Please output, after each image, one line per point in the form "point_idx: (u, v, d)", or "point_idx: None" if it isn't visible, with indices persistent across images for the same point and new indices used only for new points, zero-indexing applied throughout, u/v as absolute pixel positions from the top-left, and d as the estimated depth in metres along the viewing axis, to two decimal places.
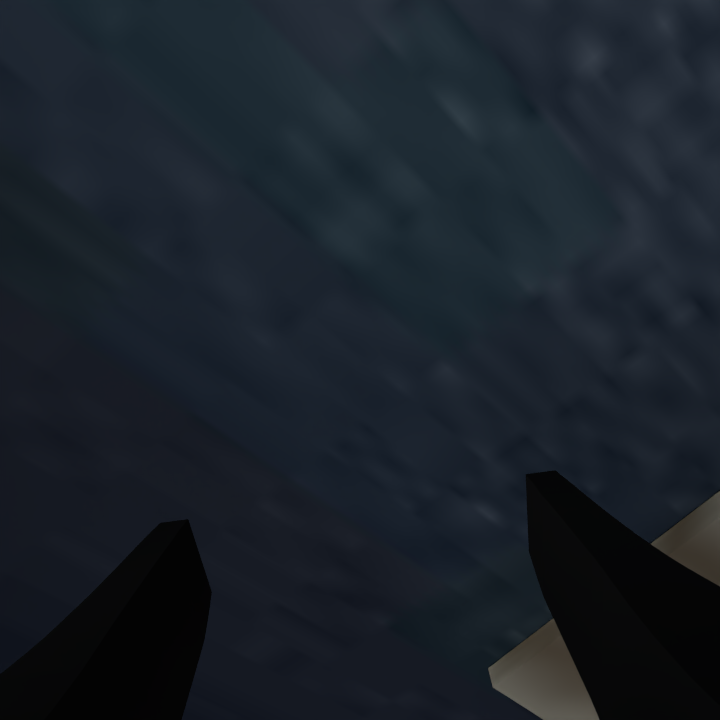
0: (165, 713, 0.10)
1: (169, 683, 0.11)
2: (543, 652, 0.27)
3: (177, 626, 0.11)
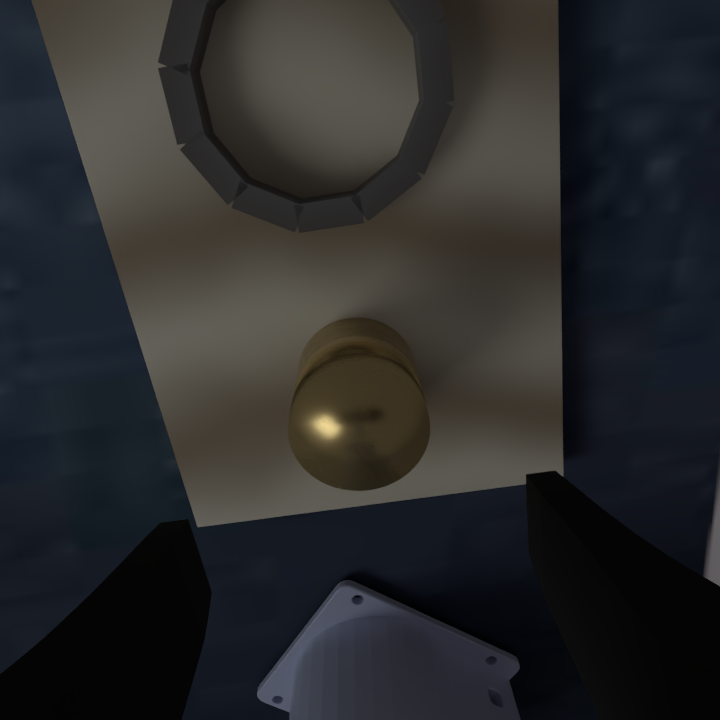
0: (165, 713, 0.10)
1: (169, 683, 0.11)
2: (180, 460, 0.21)
3: (177, 626, 0.11)
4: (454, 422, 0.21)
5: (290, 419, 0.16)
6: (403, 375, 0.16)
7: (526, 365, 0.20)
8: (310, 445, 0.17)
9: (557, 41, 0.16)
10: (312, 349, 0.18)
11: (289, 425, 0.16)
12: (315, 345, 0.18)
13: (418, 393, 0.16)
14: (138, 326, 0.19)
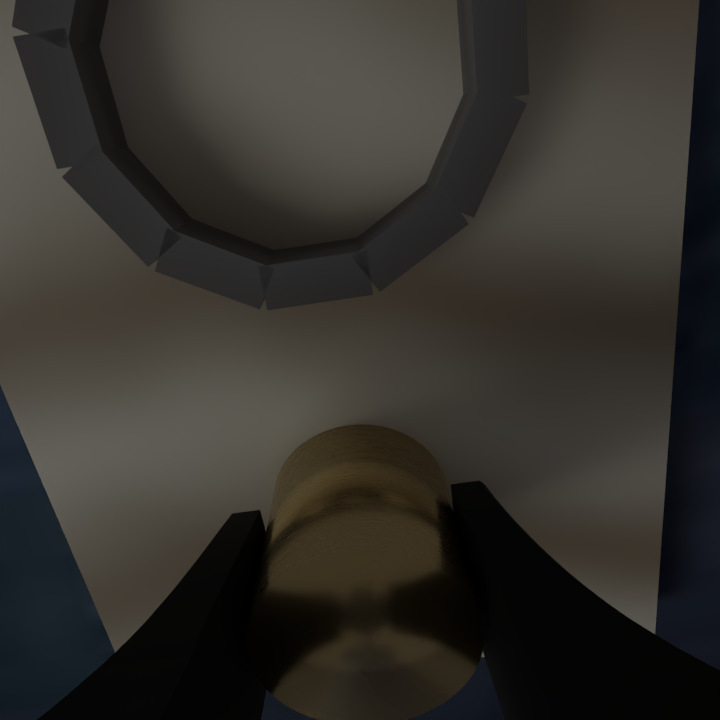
0: (251, 703, 0.10)
1: (252, 673, 0.10)
2: (105, 616, 0.15)
3: None
4: None
5: (250, 629, 0.10)
6: (441, 557, 0.10)
7: (613, 489, 0.14)
8: (285, 666, 0.10)
9: None
10: (291, 483, 0.12)
11: (249, 637, 0.10)
12: (295, 477, 0.12)
13: (466, 589, 0.10)
14: (29, 438, 0.13)
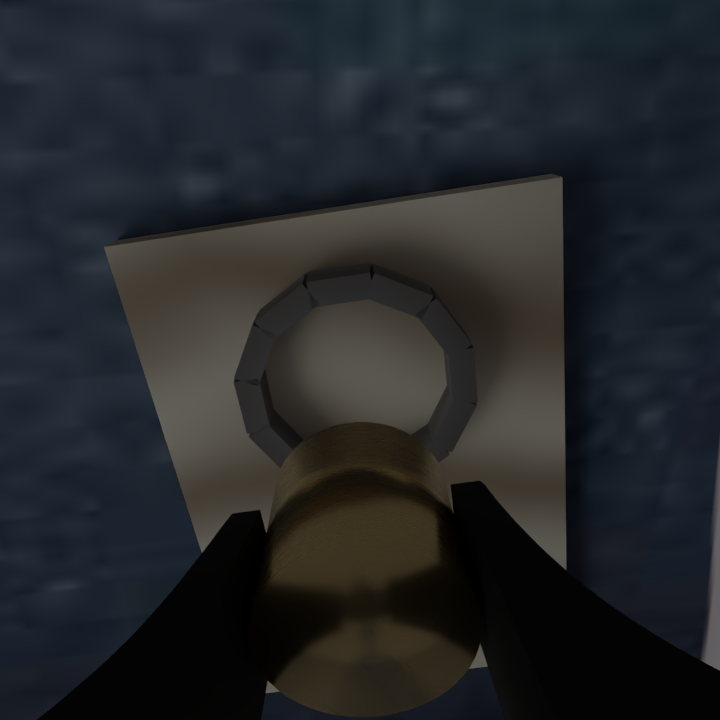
0: (251, 703, 0.10)
1: (252, 673, 0.10)
2: None
3: None
4: None
5: (252, 622, 0.10)
6: (439, 551, 0.10)
7: None
8: (286, 658, 0.10)
9: (563, 343, 0.20)
10: (292, 480, 0.12)
11: (251, 630, 0.10)
12: (297, 473, 0.12)
13: (463, 582, 0.10)
14: (203, 547, 0.23)
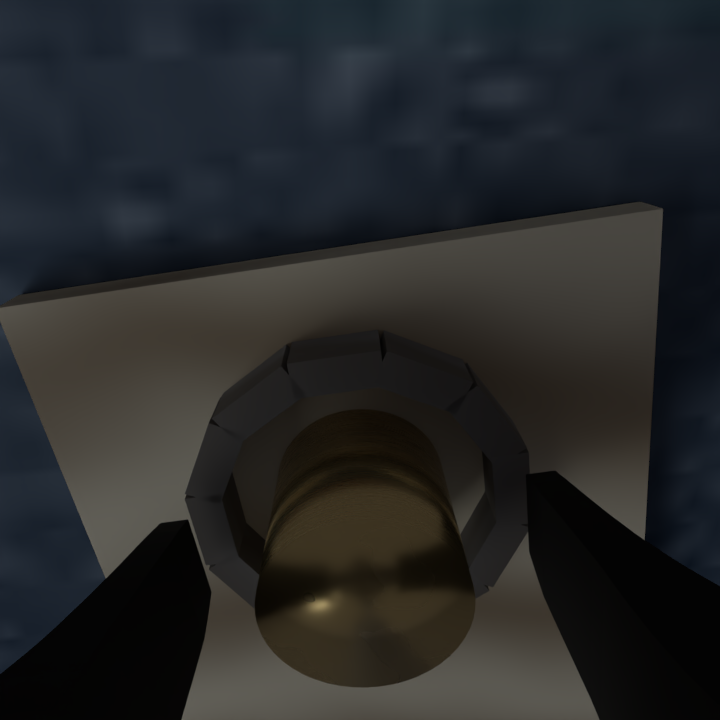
0: (165, 713, 0.10)
1: (169, 683, 0.11)
2: None
3: (177, 626, 0.11)
4: None
5: (258, 594, 0.10)
6: (434, 527, 0.10)
7: (595, 717, 0.18)
8: (290, 630, 0.11)
9: (649, 437, 0.14)
10: (295, 463, 0.13)
11: (257, 602, 0.11)
12: (299, 457, 0.13)
13: (458, 556, 0.10)
14: None
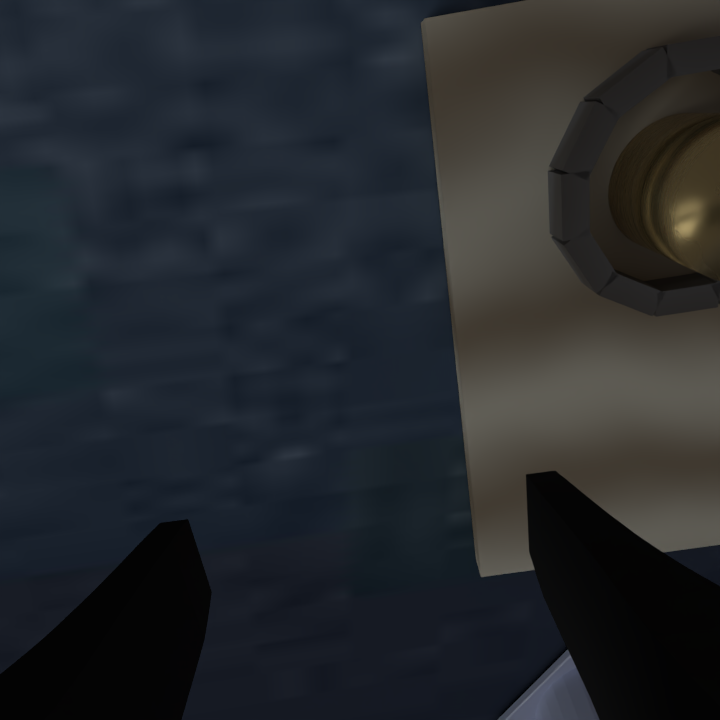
0: (165, 713, 0.10)
1: (169, 683, 0.11)
2: (478, 516, 0.23)
3: (177, 626, 0.11)
4: None
5: (683, 187, 0.14)
6: None
7: None
8: (698, 222, 0.14)
9: None
10: (658, 136, 0.16)
11: (679, 195, 0.14)
12: (658, 133, 0.16)
13: None
14: (466, 397, 0.21)
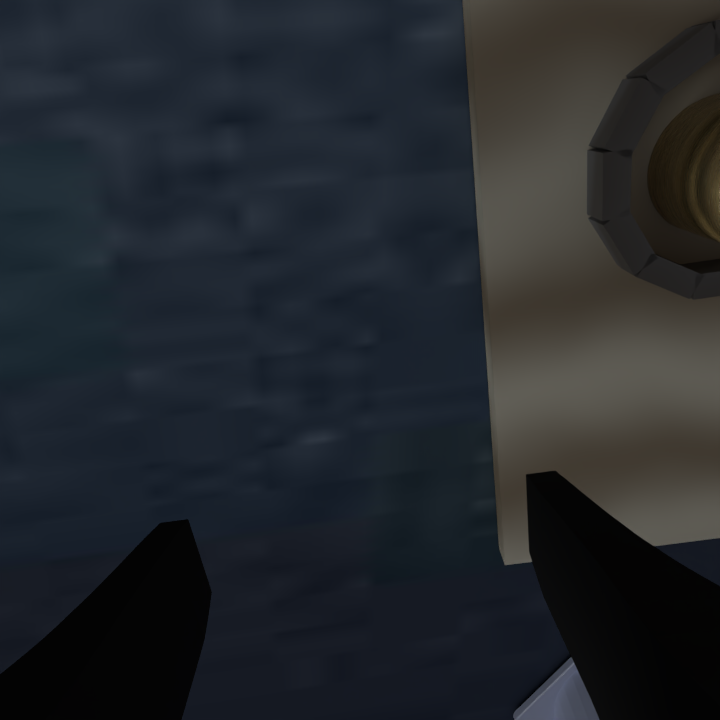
0: (165, 713, 0.10)
1: (169, 683, 0.11)
2: (505, 503, 0.22)
3: (177, 626, 0.11)
4: None
5: None
6: None
7: None
8: None
9: None
10: (703, 114, 0.16)
11: None
12: (704, 111, 0.16)
13: None
14: (497, 381, 0.20)
